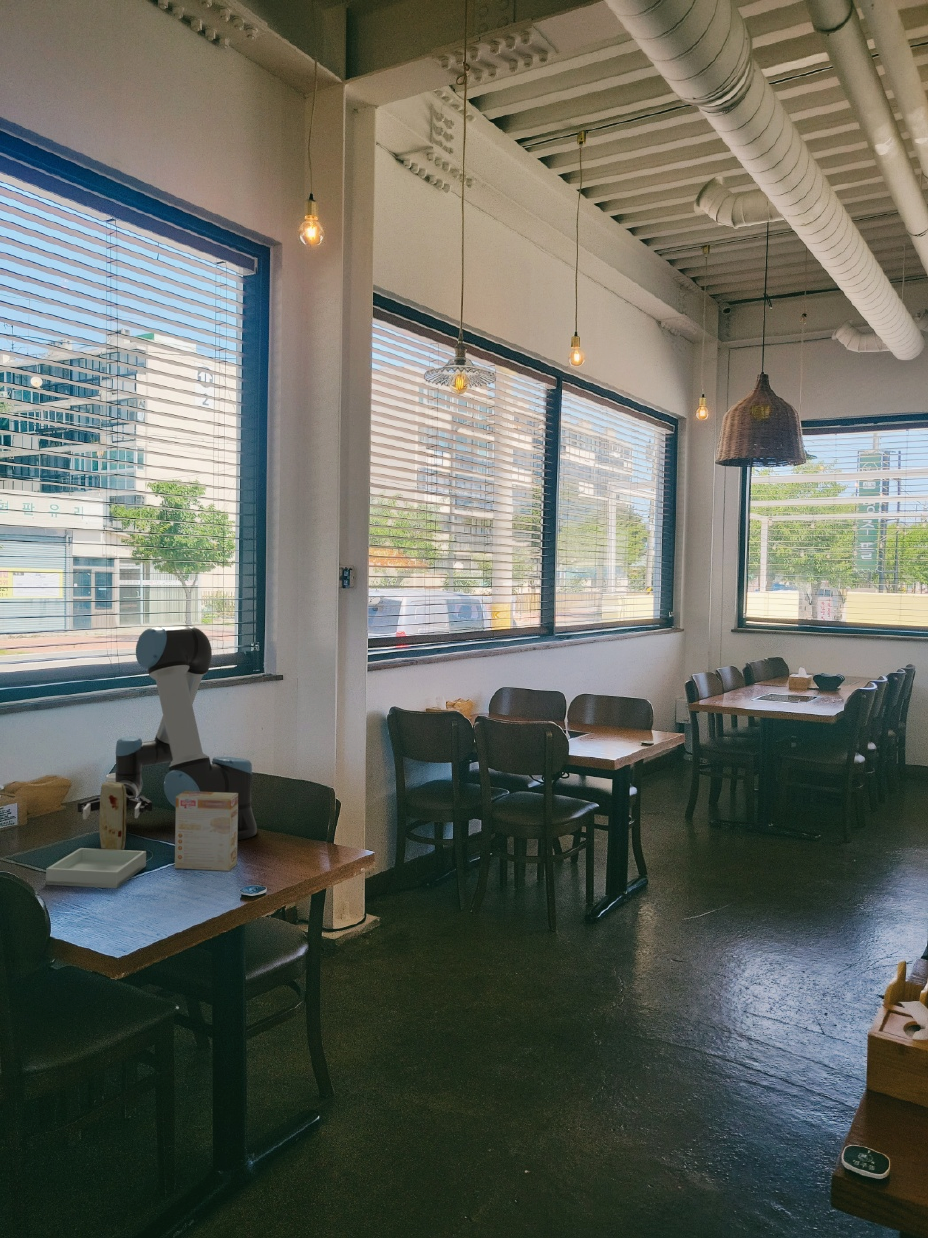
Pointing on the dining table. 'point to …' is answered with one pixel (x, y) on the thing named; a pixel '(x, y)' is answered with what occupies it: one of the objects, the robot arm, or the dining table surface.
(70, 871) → the bin
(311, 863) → the dining table surface
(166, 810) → the dining table surface
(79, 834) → the dining table surface
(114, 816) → the food model
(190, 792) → the coffeecake box
